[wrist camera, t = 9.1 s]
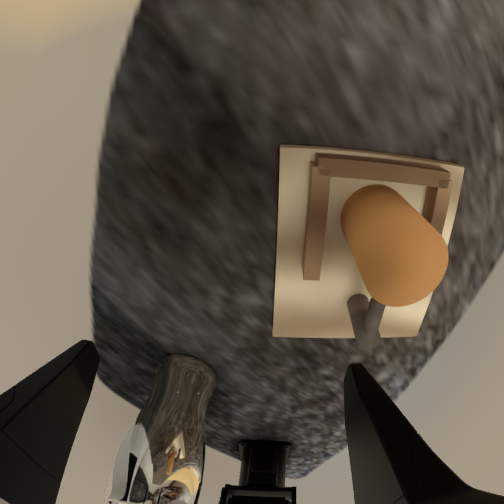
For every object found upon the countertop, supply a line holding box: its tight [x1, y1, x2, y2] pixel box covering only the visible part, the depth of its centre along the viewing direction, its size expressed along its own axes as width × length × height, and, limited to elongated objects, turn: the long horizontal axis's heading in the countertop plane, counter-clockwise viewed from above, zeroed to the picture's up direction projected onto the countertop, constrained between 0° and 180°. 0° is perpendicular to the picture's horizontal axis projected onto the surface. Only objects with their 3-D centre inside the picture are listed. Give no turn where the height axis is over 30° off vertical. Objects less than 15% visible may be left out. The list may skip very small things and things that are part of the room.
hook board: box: [273, 145, 464, 350], centre depth 18 cm, size 14×12×5 cm
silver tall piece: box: [104, 354, 217, 504], centre depth 22 cm, size 7×7×15 cm
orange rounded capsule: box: [341, 184, 448, 307], centre depth 16 cm, size 4×4×6 cm
